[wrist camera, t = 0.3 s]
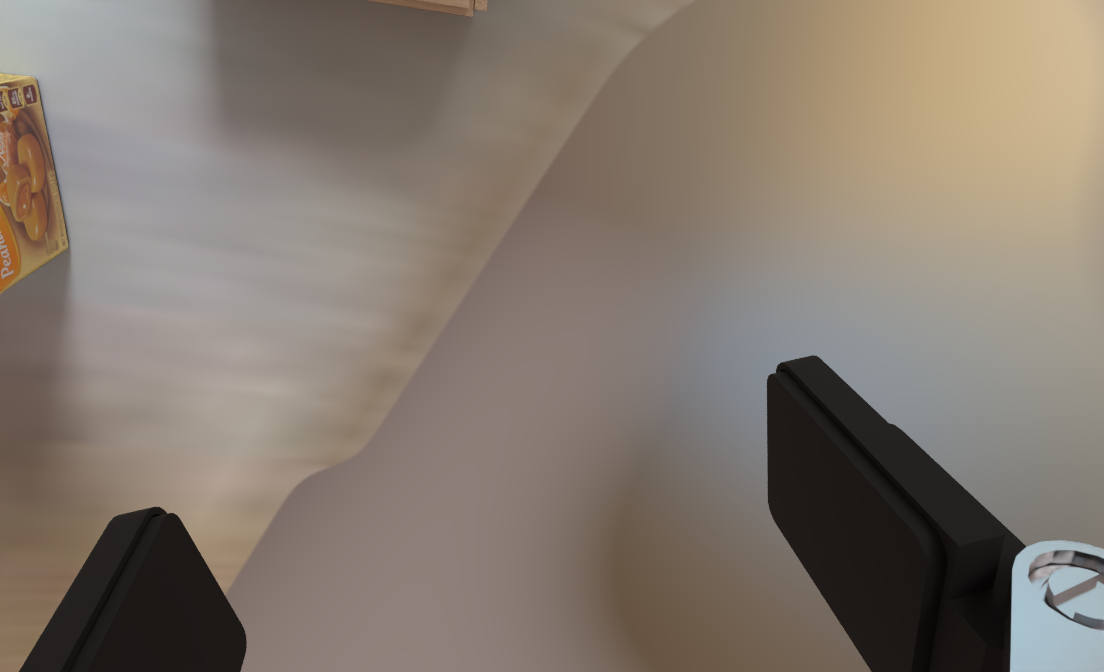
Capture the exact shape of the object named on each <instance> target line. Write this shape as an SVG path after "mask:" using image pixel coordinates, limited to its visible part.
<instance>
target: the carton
mask: <svg viewBox="0 0 1104 672" xmlns="http://www.w3.org/2000/svg"><path fill="white" fill-rule="evenodd" d="M367 1H374V2H380V3H387V4H393V5H400V6H406V7H413V8H419V9H426V10H432V11H438V12H445V13H451V14H458V15H464V16H471V17H473V9H478V10H484V11H487V0H470V7H469V8H464V7H457V6H451V5H444V4H438V3H432V2H425V1H419V0H367Z"/></svg>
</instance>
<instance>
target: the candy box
mask: <svg viewBox="0 0 1104 672" xmlns="http://www.w3.org/2000/svg"><path fill="white" fill-rule="evenodd" d="M67 248H68V240H67V234H66V228H65V223H64V218H63V212H62V206H61V202H60V196H59V191H58V186H57V180H56V175H55V170H54V165H53V160H52V155H51V150H50V145H49V141H48V136H47V131H46V126H45V121H44V116H43V111H42V107H41V101H40V93H39V88H38V83H37V80H36V79H35V78H34V77H30V76H19V75H11V74H2V73H0V294H1V293H2V292H4V291H5V290H7V289H8V288H10V287H11V286H13V285H14V284H15V283H17V282H18V281H20V280H21V279H23V278H24V277H26V276H27V275H29V274H31V273H32V272H34V271H35V270H37V269H38V268H39V267H41V266H42V265H44V264H45V263H47V262H48V261H50V260H51V259H53V258H54V257H56V256H57V255H59V254H60V253H62V252H63V251H64V250H66V249H67Z"/></svg>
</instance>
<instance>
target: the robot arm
mask: <svg viewBox="0 0 1104 672" xmlns="http://www.w3.org/2000/svg"><path fill="white" fill-rule="evenodd" d="M767 437H768V439H767V440H768V441H767V445H768V504H769V508H770V512H771V514H772V517H773V519H774V521H775V523H776V524H777V526H778V528H779V529H780V531H781V532H782V534H783V535H784V537H785V538H786V540H787V541H788V543H789V545H790V546H791V548H792V549H793V551H794V552H795V554H796V555H797V557H798V558H799V560H800V561H801V563H802V564H803V566H804V568H805V569H806V571H807V572H808V574H809V575H810V577H811V579H812V580H813V582H814V583H815V585H816V586H817V588H818V589H819V591H820V592H821V594H822V596H823V597H824V598H825V600H826V602H827V603H828V605H829V606H830V608H831V610H832V611H833V612H834V614H835V616H836V617H837V619H838V620H839V622H840V623H841V625H842V627H843V628H844V630H845V631H846V633H847V634H848V636H849V637H850V639H851V640H852V642H853V643H854V645H855V647H856V648H857V650H858V651H859V653H860V654H861V656H862V657H863V659H864V660H865V662H866V664H867V665H868V667H869V668H870V670H871V671H872V672H1104V549H1101V548H1098V547H1095V546H1091V545H1088V544H1085V543H1078V542H1071V541H1064V540H1058V541H1042V542H1039V543H1036V544H1034V545H1031V546H1028V547H1026V546H1025V545H1024V544H1023V543H1022V542H1021V541H1020V540H1019V539H1018V538H1017V537H1016V536H1015V535H1014V534H1012V533H1011V532H1010V531H1009V530H1008V529H1007V528H1006V527H1005V526H1004V525H1003V524H1002V523H1001V522H1000V521H999V520H997V519H996V518H995V517H994V516H993V515H992V514H991V513H990V512H989V511H988V510H987V509H986V508H985V507H984V506H983V505H981V504H980V503H979V502H978V501H977V500H976V499H975V498H974V497H973V496H972V495H971V494H970V493H969V492H968V491H966V490H965V489H964V488H963V487H962V486H961V485H960V484H959V483H958V482H957V481H956V480H955V479H954V478H952V477H951V476H950V475H949V474H948V473H947V472H946V471H945V470H944V469H943V468H942V467H941V466H940V465H939V464H937V463H936V462H935V461H934V460H933V459H932V458H931V457H930V456H929V455H928V454H927V453H926V452H925V451H923V449H921V448H920V447H919V446H918V445H917V444H916V443H915V442H914V441H913V440H912V439H911V438H910V437H909V436H908V435H906V434H905V433H904V432H903V431H902V430H901V429H899V428H898V427H896V426H895V425H893V424H889V423H888V422H887V421H886V420H885V419H884V418H882V417H881V416H880V415H879V414H878V413H877V412H876V411H875V410H874V409H873V408H872V407H871V406H870V405H869V404H868V403H867V402H865V400H863V398H861V397H860V396H859V395H858V394H857V393H856V392H855V391H854V390H853V389H852V388H851V387H850V386H849V385H848V384H847V383H846V382H845V381H843V380H842V379H841V378H840V377H839V376H838V375H837V374H836V373H835V372H834V371H833V370H832V369H831V368H830V367H829V366H827V364H825V363H824V362H823V361H822V360H821V359H820V358H819V357H817V356H813V355H812V356H808V357H804V358H800V359H795V360H791V361H787V362H782V363H780V364H779V365H778V366H777V369H776V373H775V374H771V375H769V376H768V379H767ZM245 652H246V634H245V631H244V628H243V626H242V624H241V622H240V621H239V619H238V617H237V616H236V614H235V612H234V610H233V609H232V607H231V605H230V604H229V602H228V600H227V599H226V597H225V595H224V593H223V592H222V590H221V588H220V586H219V585H218V583H217V581H216V580H215V578H214V576H213V574H212V573H211V571H210V569H209V568H208V566H207V564H206V562H205V561H204V559H203V557H202V556H201V554H200V552H199V550H198V549H197V547H196V545H195V544H194V542H193V540H192V538H191V537H190V535H189V533H188V532H187V530H186V528H185V527H184V525H183V523H182V521H181V520H180V518H179V517H178V516H177V515H176V514H174V513H169V514H167V513H166V511H165V510H163V509H162V508H160V507H152V508H148V509H143V510H139V511H134V512H130V513H126V514H121V515H118V516H116V517H114V518H113V519H112V520H111V521H110V522H109V524H108V525H107V527H106V529H105V530H104V532H103V534H102V535H101V537H100V539H99V540H98V542H97V544H96V545H95V547H94V549H93V550H92V552H91V554H90V555H89V557H88V559H87V560H86V562H85V563H84V565H83V567H82V568H81V570H80V572H79V573H78V575H77V577H76V578H75V580H74V582H73V583H72V585H71V587H70V588H69V590H68V592H67V593H66V595H65V597H64V598H63V600H62V602H61V603H60V605H59V606H58V608H57V610H56V611H55V613H54V615H53V616H52V618H51V620H50V621H49V623H48V625H47V626H46V628H45V630H44V631H43V633H42V635H41V636H40V638H39V640H38V641H37V643H36V644H35V646H34V648H33V649H32V651H31V653H30V654H29V656H28V658H27V659H26V661H25V663H24V664H23V666H22V668H21V669H20V671H19V672H240V671H241V667H242V664H243V660H244V657H245Z"/></svg>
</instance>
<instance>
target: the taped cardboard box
mask: <svg viewBox="0 0 1104 672" xmlns="http://www.w3.org/2000/svg"><path fill="white" fill-rule="evenodd" d="M419 1H425V2H432V3H438V4H444V5H451V6H457V7H464V8H469V7H470V0H419Z"/></svg>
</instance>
